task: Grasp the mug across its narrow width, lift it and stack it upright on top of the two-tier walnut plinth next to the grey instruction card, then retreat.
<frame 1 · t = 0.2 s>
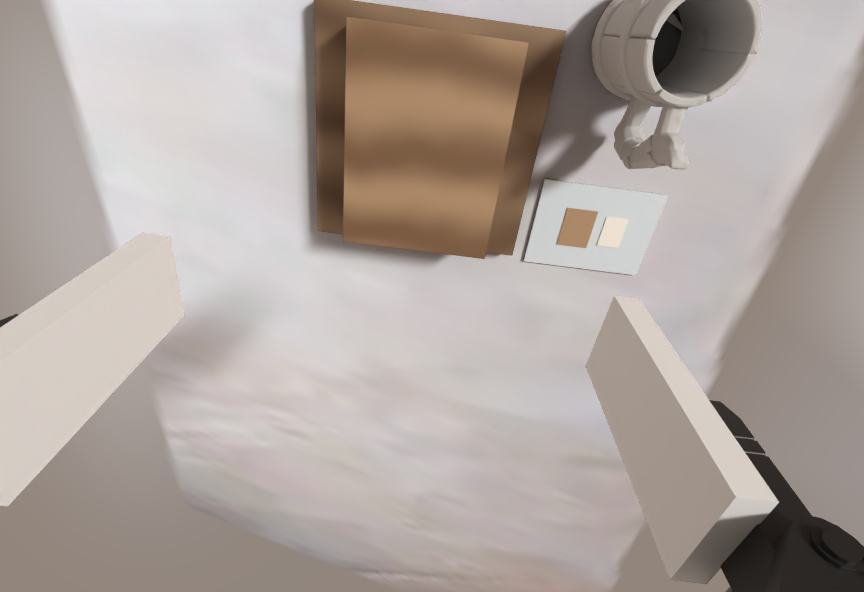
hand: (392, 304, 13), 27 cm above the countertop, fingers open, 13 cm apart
mug: (630, 71, 34), on the countertop
instruction card: (592, 228, 41), on the countertop
plinth: (427, 139, 37), on the countertop
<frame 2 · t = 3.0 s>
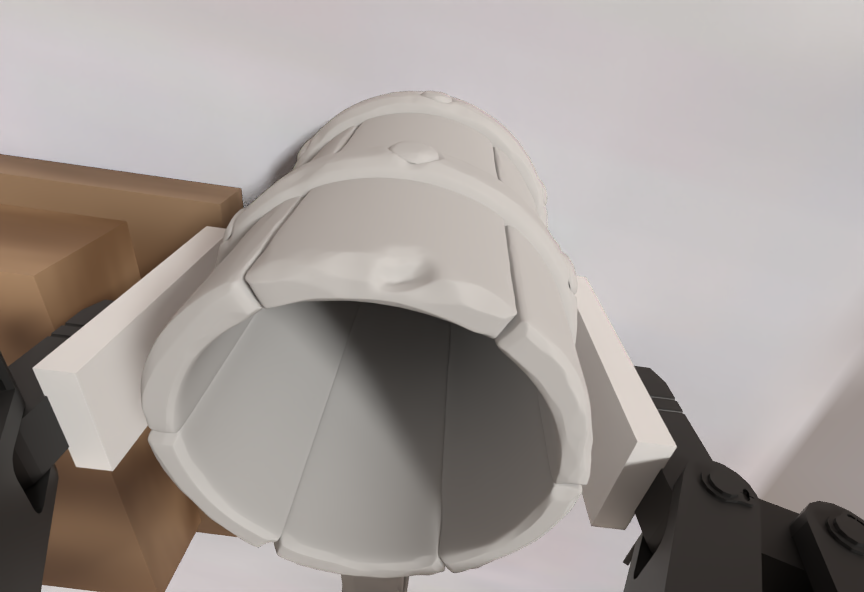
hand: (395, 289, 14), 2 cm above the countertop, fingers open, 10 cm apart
mug: (417, 264, 16), on the countertop
plinth: (51, 362, 19), on the countertop
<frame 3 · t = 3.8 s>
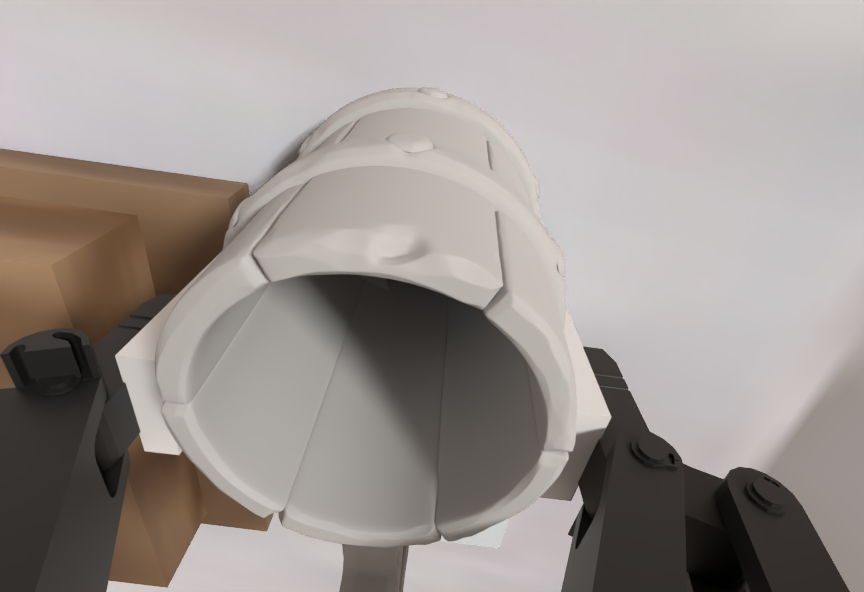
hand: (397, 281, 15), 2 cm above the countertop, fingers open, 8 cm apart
mug: (415, 257, 16), on the countertop, touching gripper
instruction card: (409, 486, 23), on the countertop
plinth: (60, 355, 19), on the countertop
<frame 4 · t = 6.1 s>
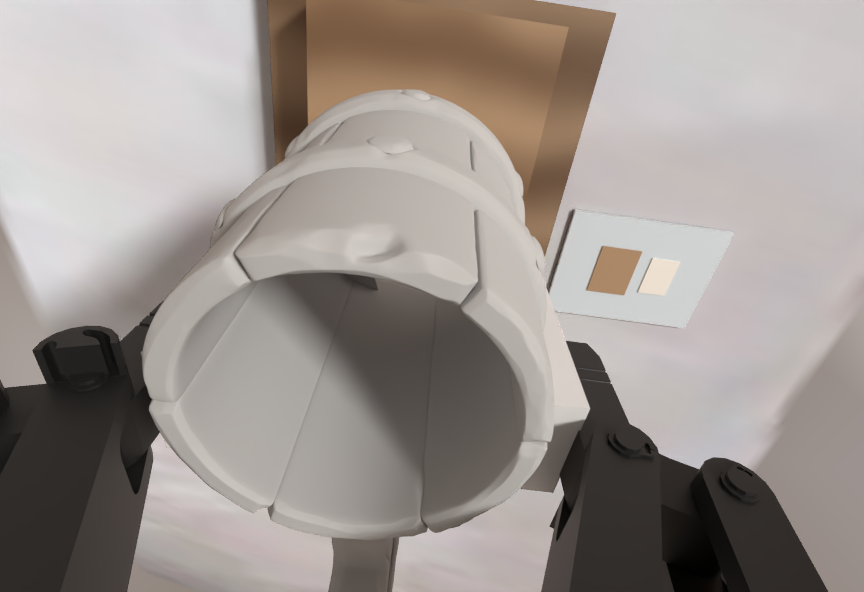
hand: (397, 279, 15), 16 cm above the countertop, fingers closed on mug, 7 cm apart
mug: (403, 256, 16), point 14 cm above the countertop, touching gripper
instruction card: (632, 271, 32), on the countertop
plinth: (423, 157, 28), on the countertop
when the fingers open (7 cm above the countertop, at t = 8.0 s): mug stays where it is, resting on plinth.
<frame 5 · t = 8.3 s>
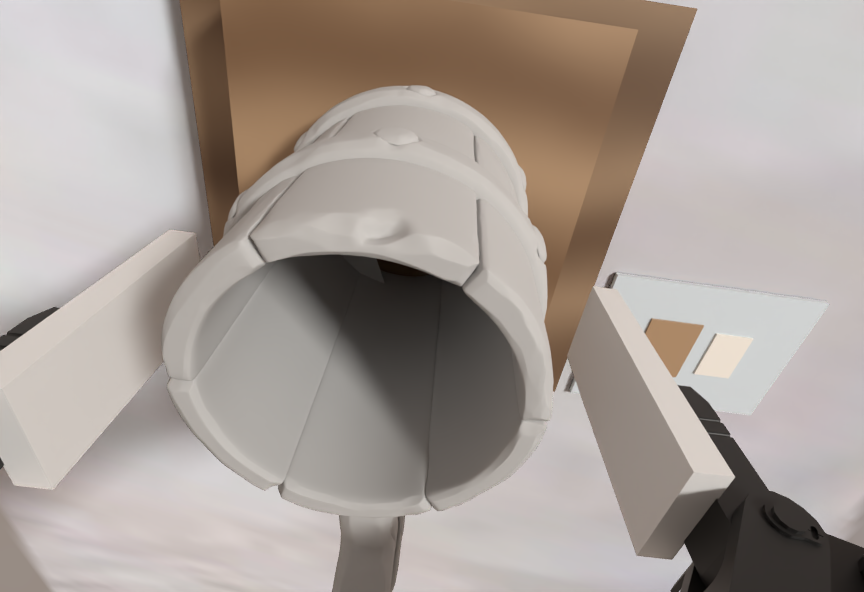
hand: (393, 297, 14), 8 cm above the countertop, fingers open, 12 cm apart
mug: (409, 250, 17), point 5 cm above the countertop, touching plinth
instruction card: (687, 348, 25), on the countertop
plinth: (413, 205, 21), on the countertop
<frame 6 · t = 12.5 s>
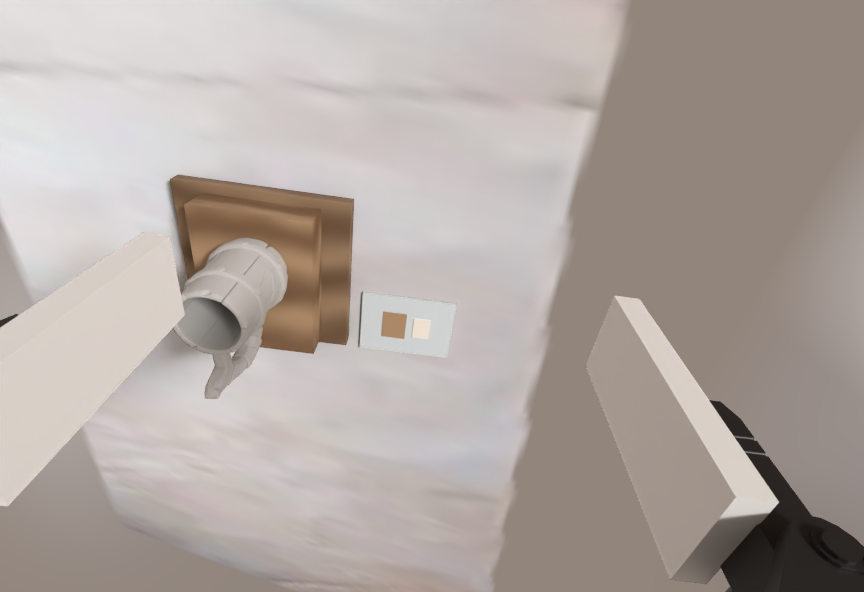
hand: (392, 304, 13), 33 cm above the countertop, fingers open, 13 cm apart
mug: (257, 285, 46), point 5 cm above the countertop, touching plinth
instruction card: (406, 325, 54), on the countertop
plinth: (271, 264, 50), on the countertop
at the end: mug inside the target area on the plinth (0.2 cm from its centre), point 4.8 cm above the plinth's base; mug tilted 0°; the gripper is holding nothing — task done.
